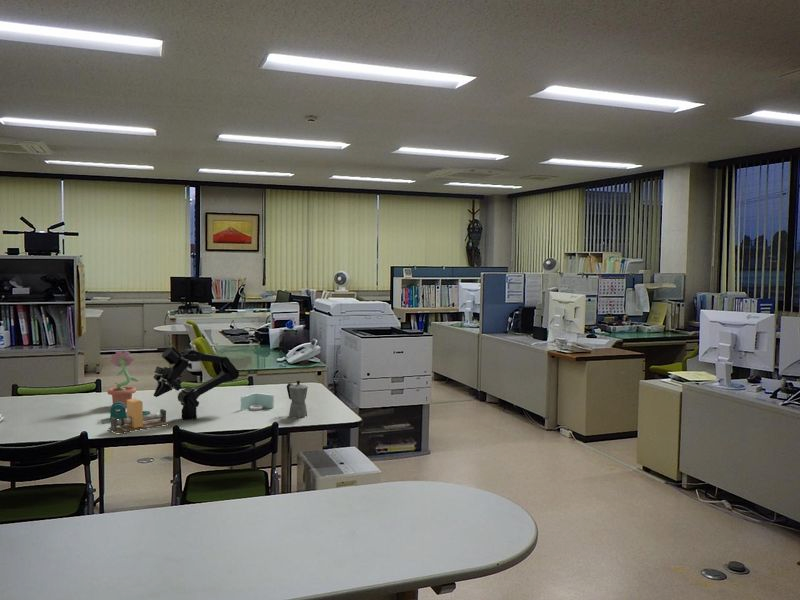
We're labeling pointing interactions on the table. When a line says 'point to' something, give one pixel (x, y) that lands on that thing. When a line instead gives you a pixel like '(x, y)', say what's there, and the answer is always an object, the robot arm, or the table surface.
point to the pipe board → (160, 420)
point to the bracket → (121, 411)
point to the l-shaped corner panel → (257, 401)
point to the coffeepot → (297, 399)
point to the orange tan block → (135, 412)
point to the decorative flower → (122, 392)
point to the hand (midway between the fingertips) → (154, 396)
